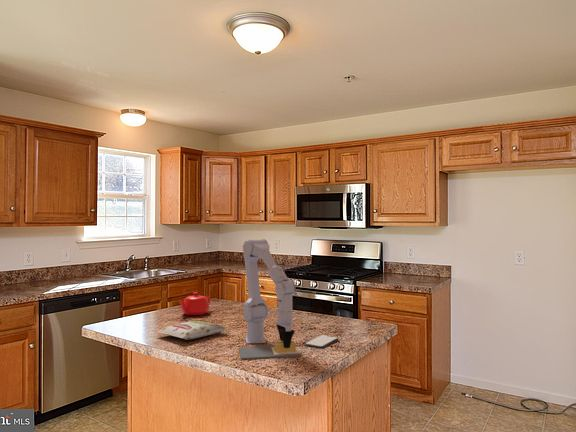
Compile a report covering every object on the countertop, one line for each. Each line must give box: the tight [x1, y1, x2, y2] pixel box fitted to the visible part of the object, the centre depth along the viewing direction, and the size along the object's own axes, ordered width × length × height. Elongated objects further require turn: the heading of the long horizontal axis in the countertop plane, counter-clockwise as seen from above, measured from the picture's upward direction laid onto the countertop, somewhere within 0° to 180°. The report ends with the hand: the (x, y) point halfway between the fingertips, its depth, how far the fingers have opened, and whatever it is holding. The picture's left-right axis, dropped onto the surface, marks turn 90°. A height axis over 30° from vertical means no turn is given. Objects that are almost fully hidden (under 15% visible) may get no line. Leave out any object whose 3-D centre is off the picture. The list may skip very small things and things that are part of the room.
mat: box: [238, 345, 302, 361], centre depth 166 cm, size 14×23×1 cm, turn 100°
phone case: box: [304, 334, 339, 350], centre depth 180 cm, size 9×2×16 cm
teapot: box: [178, 291, 211, 316], centre depth 237 cm, size 25×16×12 cm, turn 149°
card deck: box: [273, 339, 297, 352], centre depth 168 cm, size 8×5×3 cm, turn 100°
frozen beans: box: [157, 320, 229, 341], centre depth 192 cm, size 21×6×25 cm
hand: (285, 345), depth 168 cm, fingers open, 7 cm apart
